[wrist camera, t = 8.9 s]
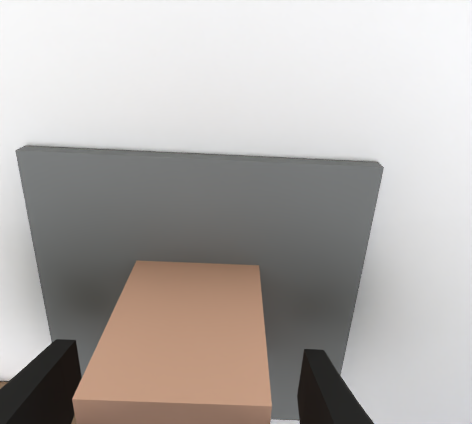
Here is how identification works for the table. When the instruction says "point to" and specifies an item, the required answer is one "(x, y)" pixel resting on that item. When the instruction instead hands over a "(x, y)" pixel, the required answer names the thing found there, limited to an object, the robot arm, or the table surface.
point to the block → (181, 350)
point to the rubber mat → (203, 239)
